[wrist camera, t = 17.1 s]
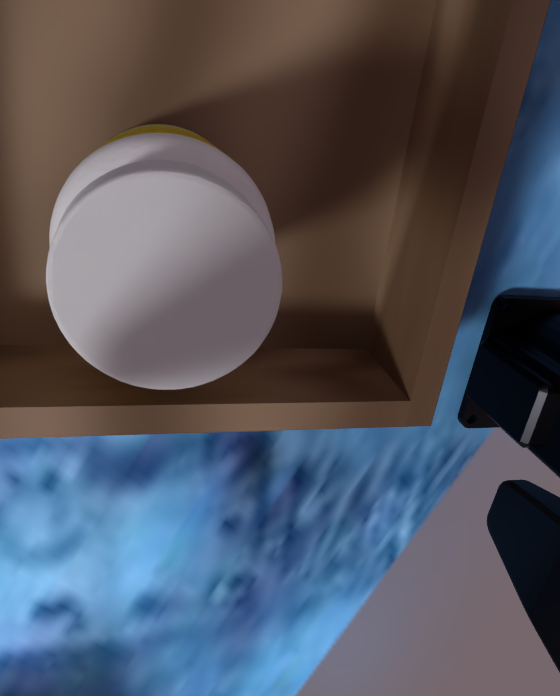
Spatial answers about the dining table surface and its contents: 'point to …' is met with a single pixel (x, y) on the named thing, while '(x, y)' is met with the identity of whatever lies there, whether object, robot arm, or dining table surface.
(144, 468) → the dining table surface
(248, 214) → the supplement bottle
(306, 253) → the crate
